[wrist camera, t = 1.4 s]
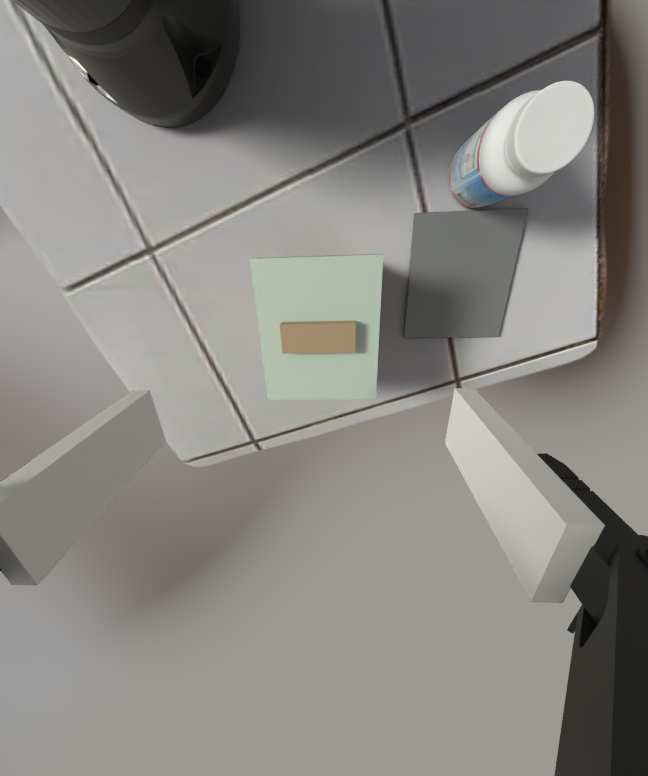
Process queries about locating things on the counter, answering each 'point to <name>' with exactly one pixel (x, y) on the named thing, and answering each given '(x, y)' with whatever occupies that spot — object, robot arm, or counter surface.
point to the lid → (319, 325)
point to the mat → (461, 272)
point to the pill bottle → (522, 145)
